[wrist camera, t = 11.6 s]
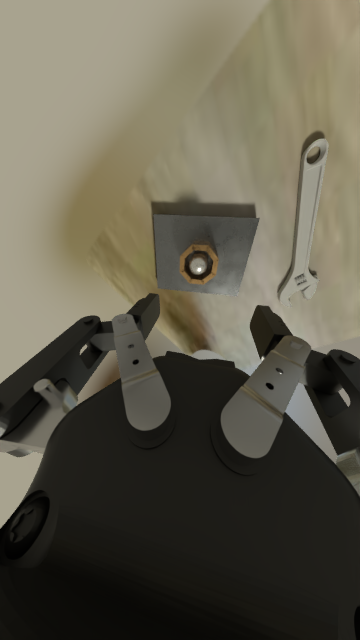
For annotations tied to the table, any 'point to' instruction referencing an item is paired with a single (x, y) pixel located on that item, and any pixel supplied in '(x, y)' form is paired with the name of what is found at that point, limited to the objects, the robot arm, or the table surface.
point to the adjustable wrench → (305, 225)
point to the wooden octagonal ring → (209, 272)
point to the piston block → (225, 237)
